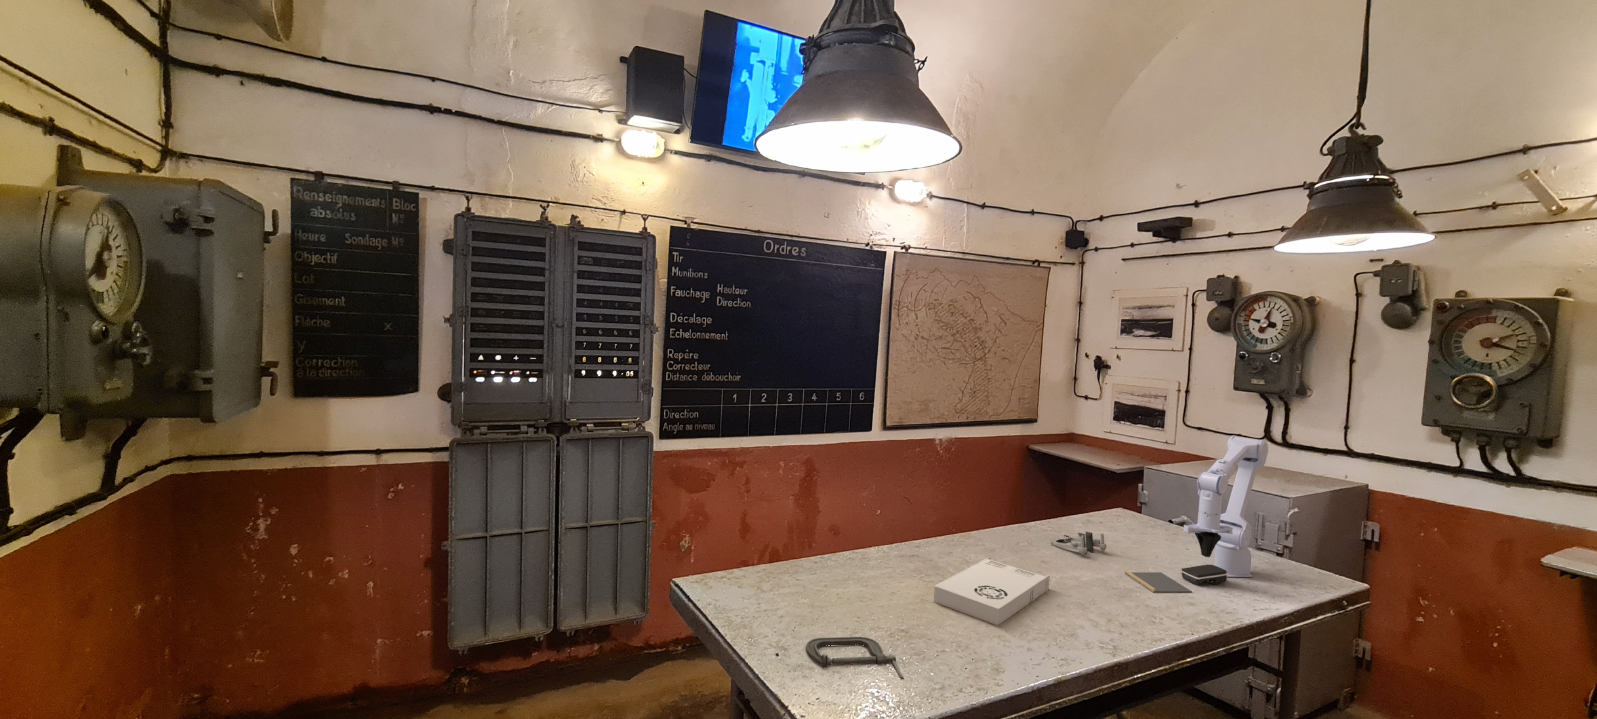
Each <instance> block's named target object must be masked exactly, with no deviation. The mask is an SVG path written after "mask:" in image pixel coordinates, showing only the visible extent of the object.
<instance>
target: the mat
mask: <svg viewBox="0 0 1597 719" xmlns="http://www.w3.org/2000/svg"><path fill="white" fill-rule="evenodd" d="M1124 574H1125V575H1127V576H1128V577H1129V578H1131V579H1132V580H1133V581H1135V582H1136V583H1138V584H1140V585H1141V586H1143V587H1144V588H1146V589H1147V590H1149V591H1151V592H1152V593H1153V594H1155V593H1158V594H1159V593H1160V594H1161V593H1163V594H1164V593H1165V594H1166V593H1170V594H1171V593H1176V594H1177V593H1179V594H1180V593H1187V594H1189V593H1193V591H1192V590H1190V589H1189V588H1187V587H1186V586H1184V585H1182V584H1180V583H1179V582H1177V581H1176V580H1174V579H1172V578H1171V577H1170V576H1168V575H1166V574H1164V573H1163V572H1162V571H1161V572H1159V571H1157V572H1155V571H1152V572H1151V571H1150V572H1149V571H1148V572H1144V571H1143V572H1141V571H1139V572H1138V571H1137V572H1136V571H1134V572H1131V571H1130V570H1124Z"/></svg>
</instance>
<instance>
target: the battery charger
mask: <svg viewBox="0 0 1597 719" xmlns="http://www.w3.org/2000/svg"><path fill="white" fill-rule="evenodd" d="M1180 572H1181V577H1182V579H1183V580H1185V581H1187V582H1190V583H1192V584H1194V585H1200V584H1201V583H1203V582H1208V583H1210V584H1212V585H1218V584H1223V583H1225V582H1227V579H1228V577H1227V571H1226V570H1224V569H1222V568H1220V567H1217V566H1215V565H1214V564H1202V565H1195V566H1190V567H1182V568H1181V571H1180Z"/></svg>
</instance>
